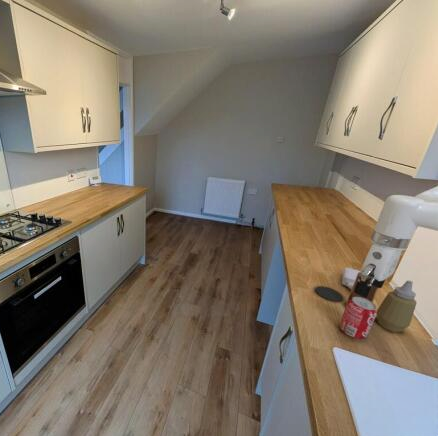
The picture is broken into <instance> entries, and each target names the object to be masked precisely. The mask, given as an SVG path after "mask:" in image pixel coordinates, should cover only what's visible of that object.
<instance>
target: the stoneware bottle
mask: <svg viewBox="0 0 438 436" xmlns="http://www.w3.org/2000/svg"><path fill="white" fill-rule="evenodd" d="M361 274H362V273H361V272H359V273H358V274H357V277H356V279H355V282H354V285H353V287H352V290H351V289H350V294H349V296H348V297H347V301H346V303H345V307H346V306H347V304H348V302H349V301H350V300H352V298H353V297H361V298H364V299H367V300H369V301H371V302H372V303H374V300H375V298H376V297H377V293H378V292H379V291H378V290H379V289H380V288H378V287H375V286H373V285H371V286H372V288H371V290H370V293H369V295H368V297H367V298H365V297H362V296H360V295H358V294H356V293H354V289H355V287H356V284H357V282H358V280H359V278H360V277H361ZM370 275H372V274H370ZM367 279H370V278H369V277H368V278H367Z"/></svg>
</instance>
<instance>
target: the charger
mask: <svg viewBox="0 0 438 436" xmlns="http://www.w3.org/2000/svg"><path fill="white" fill-rule="evenodd" d="M359 272H361V270H358V269H354V268H351V267H345V268H344V269H343V272H342V276H341V277H342V278H341V284H342V285H343V286H344V287H348V289H350V291H351V290H352V287H353V285H354V282H355V279H356V277H357V274H358V273H359Z"/></svg>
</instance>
